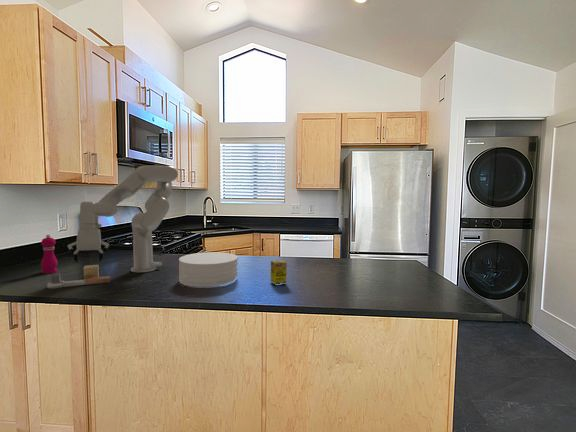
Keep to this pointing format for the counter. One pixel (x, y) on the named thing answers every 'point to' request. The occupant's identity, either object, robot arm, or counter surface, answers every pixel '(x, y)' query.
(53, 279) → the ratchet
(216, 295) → the counter surface
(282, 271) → the supplement box
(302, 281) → the counter surface
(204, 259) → the plate stack
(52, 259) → the pepper mill
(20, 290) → the counter surface
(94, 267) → the mustard yellow cube
